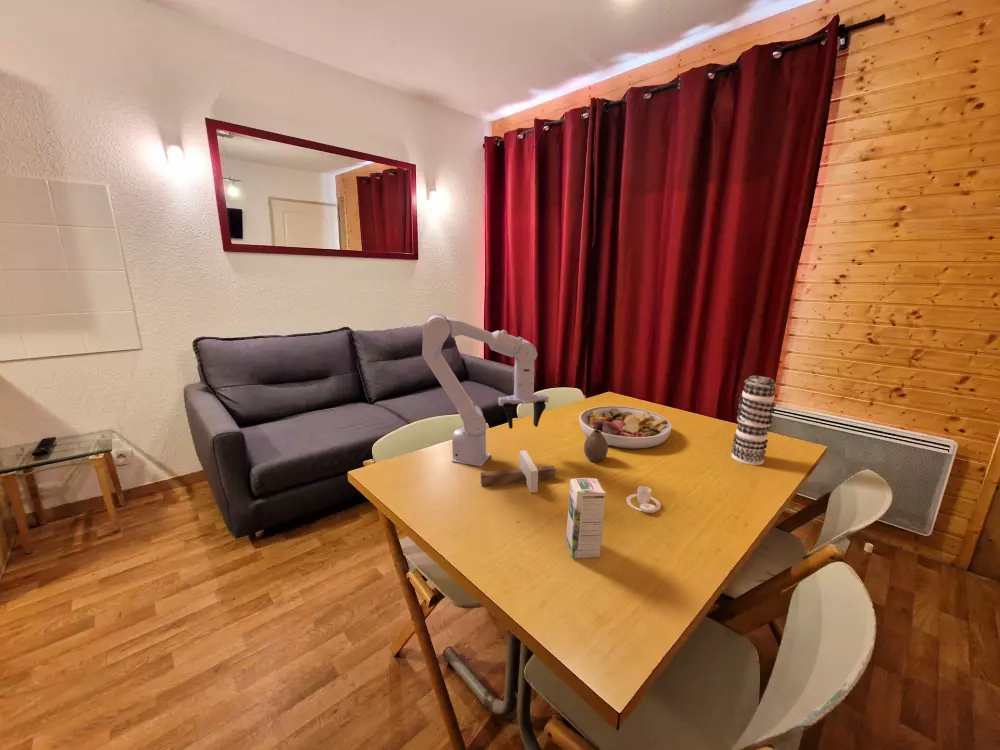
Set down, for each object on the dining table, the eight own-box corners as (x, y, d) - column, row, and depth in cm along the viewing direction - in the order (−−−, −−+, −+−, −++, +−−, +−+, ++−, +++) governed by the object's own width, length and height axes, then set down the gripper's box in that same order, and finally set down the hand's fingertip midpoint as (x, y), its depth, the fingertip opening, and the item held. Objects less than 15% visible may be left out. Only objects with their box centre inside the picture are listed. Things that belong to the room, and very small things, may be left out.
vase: (607, 465, 119) (609, 437, 116) (583, 462, 120) (584, 434, 118) (606, 454, 125) (608, 427, 123) (583, 452, 127) (585, 426, 124)
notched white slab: (519, 470, 115) (519, 450, 114) (525, 469, 116) (525, 450, 114) (530, 492, 104) (531, 471, 102) (537, 492, 104) (538, 470, 103)
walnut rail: (481, 486, 107) (481, 475, 106) (480, 482, 109) (480, 472, 108) (555, 478, 111) (555, 468, 110) (553, 475, 113) (553, 465, 112)
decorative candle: (722, 454, 126) (734, 375, 119) (745, 450, 129) (759, 372, 122) (748, 467, 117) (763, 383, 111) (772, 463, 120) (788, 380, 114)
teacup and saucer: (656, 519, 94) (658, 503, 93) (621, 509, 98) (623, 494, 97) (663, 501, 101) (664, 486, 100) (630, 492, 105) (631, 478, 104)
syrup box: (565, 540, 86) (568, 478, 82) (592, 539, 86) (597, 476, 83) (572, 559, 80) (575, 493, 77) (601, 557, 81) (606, 491, 77)
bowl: (598, 412, 162) (599, 393, 160) (679, 429, 145) (681, 408, 143) (563, 437, 138) (564, 415, 136) (655, 461, 121) (658, 436, 119)
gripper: (502, 387, 113) (501, 433, 117) (552, 384, 116) (550, 429, 120) (497, 380, 120) (497, 424, 124) (544, 378, 123) (543, 421, 126)
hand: (523, 426), depth 122 cm, fingers open, 7 cm apart
